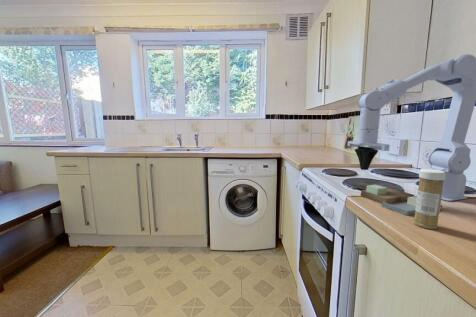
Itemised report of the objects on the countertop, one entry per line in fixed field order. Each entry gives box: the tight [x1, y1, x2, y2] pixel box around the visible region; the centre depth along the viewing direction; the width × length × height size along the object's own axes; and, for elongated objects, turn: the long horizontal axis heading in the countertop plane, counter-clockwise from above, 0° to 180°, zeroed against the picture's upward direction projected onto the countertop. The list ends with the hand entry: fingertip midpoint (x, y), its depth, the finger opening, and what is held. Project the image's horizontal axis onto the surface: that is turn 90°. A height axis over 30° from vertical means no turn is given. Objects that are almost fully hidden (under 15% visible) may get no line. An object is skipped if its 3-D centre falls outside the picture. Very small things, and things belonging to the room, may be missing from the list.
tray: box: [381, 201, 443, 216], centre depth 65 cm, size 14×7×1 cm, turn 109°
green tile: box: [365, 184, 387, 195], centre depth 73 cm, size 4×4×2 cm
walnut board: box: [360, 186, 415, 205], centre depth 73 cm, size 12×9×2 cm
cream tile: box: [407, 195, 417, 206], centre depth 66 cm, size 4×4×2 cm
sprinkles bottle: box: [413, 168, 446, 230], centre depth 53 cm, size 5×5×13 cm
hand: (364, 169), depth 77 cm, fingers closed
